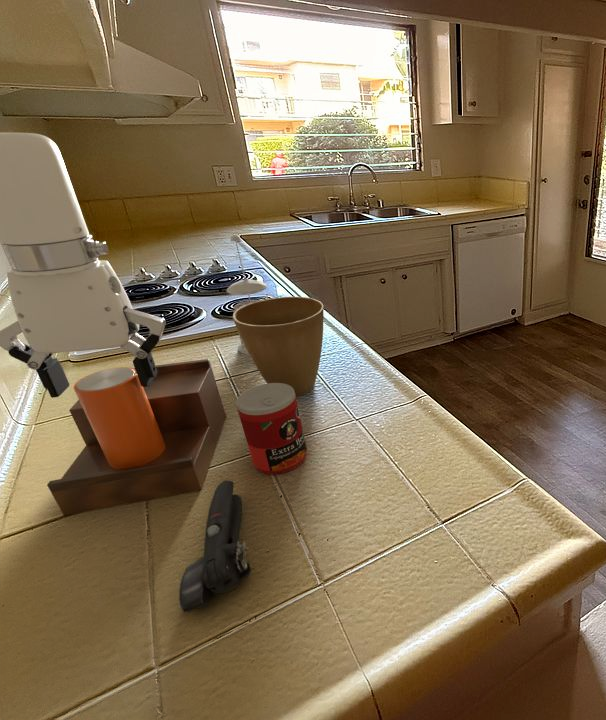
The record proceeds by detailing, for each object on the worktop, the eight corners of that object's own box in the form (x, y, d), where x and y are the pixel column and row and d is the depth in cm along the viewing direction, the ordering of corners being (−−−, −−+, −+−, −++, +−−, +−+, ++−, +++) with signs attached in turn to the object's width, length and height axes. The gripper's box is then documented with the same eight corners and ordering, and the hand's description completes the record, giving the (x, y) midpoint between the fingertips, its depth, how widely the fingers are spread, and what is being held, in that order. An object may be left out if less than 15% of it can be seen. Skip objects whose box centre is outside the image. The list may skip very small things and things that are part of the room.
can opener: (253, 603, 48) (241, 566, 46) (178, 626, 46) (160, 588, 44) (262, 492, 63) (253, 459, 61) (205, 505, 61) (193, 471, 59)
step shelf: (63, 515, 60) (24, 445, 54) (119, 432, 76) (93, 372, 71) (201, 490, 64) (177, 422, 59) (226, 416, 80) (209, 358, 75)
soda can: (100, 474, 61) (62, 395, 55) (119, 444, 66) (87, 370, 61) (157, 464, 62) (126, 387, 57) (171, 436, 68) (144, 363, 63)
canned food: (276, 482, 65) (258, 417, 60) (241, 463, 69) (223, 400, 64) (319, 453, 71) (306, 391, 66) (285, 437, 74) (271, 377, 69)
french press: (255, 334, 112) (229, 229, 100) (298, 338, 110) (277, 231, 98) (227, 352, 103) (196, 239, 92) (274, 356, 101) (248, 241, 90)
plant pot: (269, 418, 79) (247, 332, 72) (243, 385, 89) (222, 307, 82) (349, 389, 88) (337, 310, 81) (317, 362, 98) (304, 290, 91)
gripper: (152, 243, 57) (188, 366, 65) (-22, 251, 53) (40, 382, 60) (130, 258, 51) (174, 392, 59) (-69, 268, 46) (6, 412, 54)
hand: (106, 387), depth 59 cm, fingers open, 9 cm apart
